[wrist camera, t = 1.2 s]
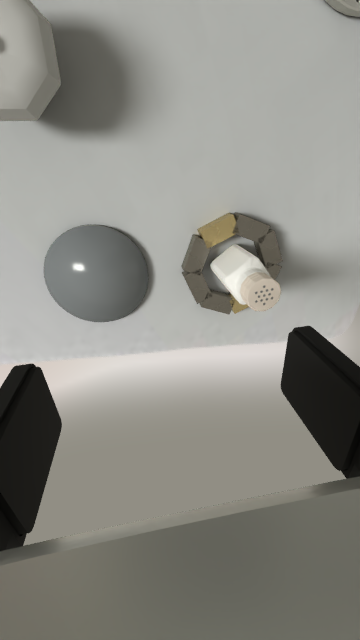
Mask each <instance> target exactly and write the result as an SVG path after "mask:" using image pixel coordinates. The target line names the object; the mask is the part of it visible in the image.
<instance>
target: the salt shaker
mask: <svg viewBox="0 0 360 640" xmlns="http://www.w3.org/2000/svg"><path fill="white" fill-rule="evenodd" d="M210 266H211V269H212V270H213V272H214V273H215V274H216V276H217V277H218V278H219V279H220V281H221V282H222V283H223V285H224V286H225V287H226V288H227V289H228V291H229V292H230V293H231V294H232V295H233V296H234V298H235V299H236V300H237V301H238V302H239V303H240V304H242V305H245V304H247V305H248V306H249V307H250V308H252V309H253V310H255V311H266V310H268V309H270V308H272V307H273V306H274V305H275V304H276V303H277V302H278V301H279V298H280V294H281V289H280V285H279V283H278V282H277V281H275V280H274V279H273V278H271V276H270V275H269V273H268V271H267V270H266V268H265V267H264V265H263V264H262V262H261V261H260V260H259V258H258V257H256V256H254V255H253V254H251V253H250V252H248V251H247V250H245V249H243V248H242V247H240V246H239V245H237V244H234V245H232V246H230V247H229V248H228V249H227V250H226V251H224V252H223V253H222V254H221V255H219V256H218V257H217V258H216V259H215V260H213V261H212V263H211V264H210Z"/></svg>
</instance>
